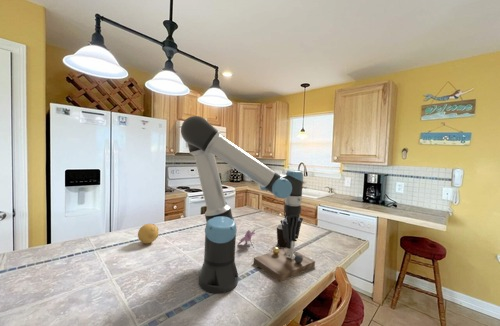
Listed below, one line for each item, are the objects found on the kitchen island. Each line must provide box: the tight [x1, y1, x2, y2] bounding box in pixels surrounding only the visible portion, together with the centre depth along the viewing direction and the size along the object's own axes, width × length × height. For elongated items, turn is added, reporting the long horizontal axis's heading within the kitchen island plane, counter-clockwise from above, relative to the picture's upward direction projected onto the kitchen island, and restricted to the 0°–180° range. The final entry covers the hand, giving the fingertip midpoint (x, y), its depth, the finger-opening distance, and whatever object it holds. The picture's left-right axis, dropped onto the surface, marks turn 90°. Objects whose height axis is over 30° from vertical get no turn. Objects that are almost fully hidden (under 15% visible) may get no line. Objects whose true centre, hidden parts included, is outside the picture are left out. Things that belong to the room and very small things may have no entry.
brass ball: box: [272, 246, 280, 255], centre depth 101 cm, size 3×3×3 cm
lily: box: [237, 229, 256, 249], centre depth 115 cm, size 12×12×10 cm
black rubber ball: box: [295, 255, 302, 263], centre depth 94 cm, size 3×3×3 cm
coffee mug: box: [276, 224, 287, 248], centre depth 119 cm, size 12×9×10 cm
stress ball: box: [137, 223, 160, 245], centre depth 112 cm, size 10×10×10 cm
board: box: [253, 247, 316, 283], centre depth 97 cm, size 22×17×2 cm
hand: (289, 254), depth 99 cm, fingers closed
